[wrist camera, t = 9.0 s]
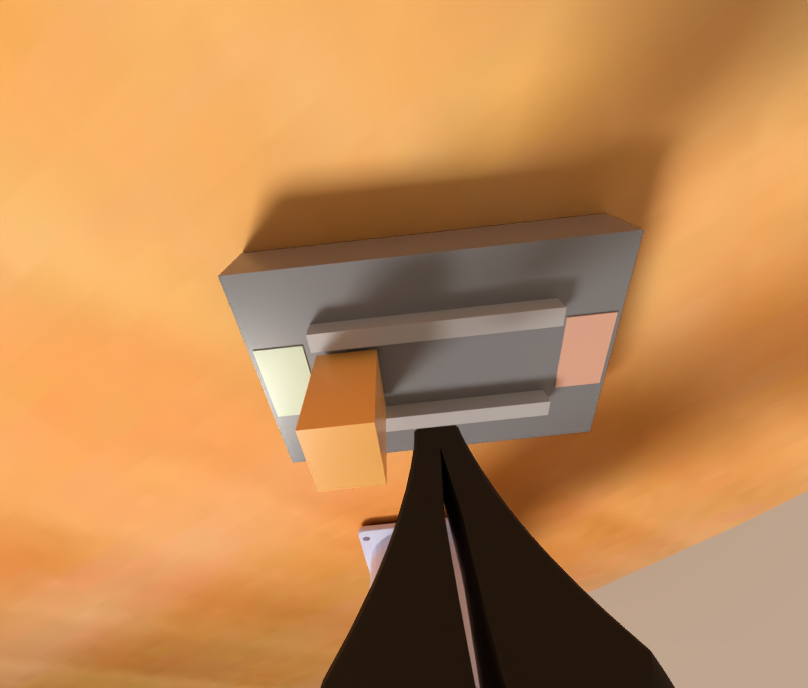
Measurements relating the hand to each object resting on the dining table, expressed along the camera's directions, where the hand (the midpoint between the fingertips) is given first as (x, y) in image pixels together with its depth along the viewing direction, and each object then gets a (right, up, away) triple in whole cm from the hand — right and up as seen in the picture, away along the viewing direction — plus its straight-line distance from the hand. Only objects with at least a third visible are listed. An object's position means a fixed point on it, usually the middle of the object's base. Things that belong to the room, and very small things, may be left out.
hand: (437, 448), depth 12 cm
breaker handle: (-3, +2, +3) cm, 5 cm away
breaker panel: (0, +4, +6) cm, 7 cm away
